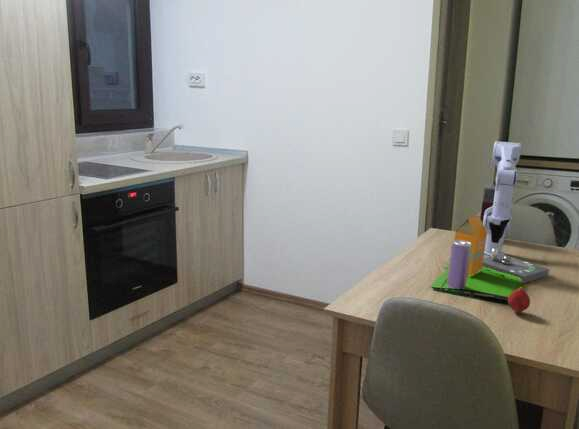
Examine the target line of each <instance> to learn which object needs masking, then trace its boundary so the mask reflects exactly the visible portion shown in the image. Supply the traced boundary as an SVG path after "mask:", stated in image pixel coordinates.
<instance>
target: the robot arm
mask: <svg viewBox="0 0 579 429" xmlns="http://www.w3.org/2000/svg"><path fill="white" fill-rule="evenodd" d="M521 152H522V143H521V142H508V141H498V140H496V141H494V143H493V150H492V164H493V165H496V169H497V170H496V174H495V177H496V187H495V194H494V202H493V206H492V207H490V208H488V209H486V211H485V214H484V218H483V225H484V228H485V230H486V232H487V237H486V243H485V251H484V255H488V256H489V257H490V256H491V255H492V249H493V248H497V249H498V255H499V254H503V255H507V253H506V252H504V251H503V246H504V240H505V234H506V233H508V232H509V231H510V227H511V220H513V216H511V215H512V214H511V209H512V208H511V207H512V201H513V200H512V199H513V194H514V187H516V184H517V182H518V181H517V180H518V170H517V169H516V166H517V165H518V163H519V159H520V157H521ZM510 208H511V209H510Z"/></svg>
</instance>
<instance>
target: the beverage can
mask: <svg viewBox="0 0 579 429" xmlns="http://www.w3.org/2000/svg"><path fill="white" fill-rule="evenodd" d="M471 248H472V247H471V243H470V242H467V241H463V240H455V239H453V241H452V244H451V250H450V256H449V264H448V271H447V277H446V278H447V279H446V285H447V287H448V288H449V287H450V289H451V288H452V290H455V289H457V290H456V291H460V290H459V289H463V290H464V289H465V288H467V283H468V269H469V262H470V255H471Z"/></svg>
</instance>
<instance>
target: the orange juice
mask: <svg viewBox="0 0 579 429" xmlns="http://www.w3.org/2000/svg"><path fill="white" fill-rule="evenodd" d="M486 237H487V232H486V230H485V228H484V225H483V223H482V221H481V219H480V215H475V216H472V217H469V218H467V219H466V220H465V221H464V222H463V223H462V224H461V225H460V226H459V227H458V228H457V229H456V231H455V234H454V240H463V241H467V242H470V243H471V247H472V248H471V255H470V262H469V269H468V275H472V274H474V273H476V272H478V271H479V270H481V269H482V263H483V258H485V257H484V256H485V254H484V251H485V243H486ZM482 270H483V269H482ZM482 270H481V271H482Z"/></svg>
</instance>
